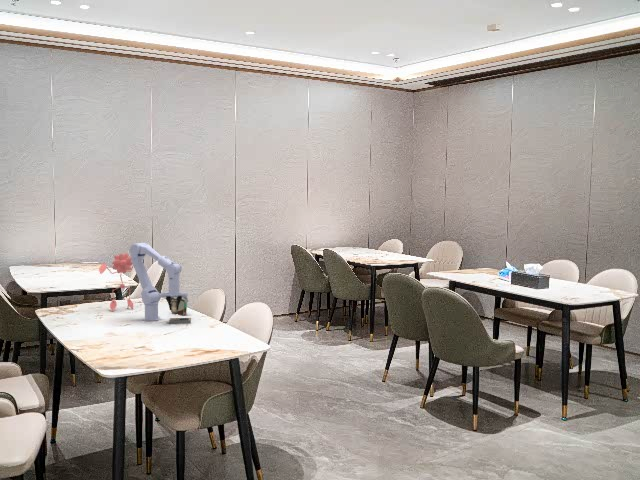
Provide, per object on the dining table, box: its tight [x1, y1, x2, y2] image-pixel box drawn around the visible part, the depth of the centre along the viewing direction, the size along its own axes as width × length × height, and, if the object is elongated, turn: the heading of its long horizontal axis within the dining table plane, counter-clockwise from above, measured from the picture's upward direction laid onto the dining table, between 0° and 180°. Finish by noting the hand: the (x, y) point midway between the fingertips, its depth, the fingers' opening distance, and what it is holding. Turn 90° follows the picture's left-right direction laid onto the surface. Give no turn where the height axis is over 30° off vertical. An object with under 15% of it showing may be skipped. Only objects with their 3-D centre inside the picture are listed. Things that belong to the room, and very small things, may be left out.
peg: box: [170, 301, 177, 313], centre depth 345 cm, size 3×3×6 cm
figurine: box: [98, 252, 141, 314], centre depth 372 cm, size 15×26×35 cm, turn 122°
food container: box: [171, 296, 189, 317], centre depth 368 cm, size 12×6×10 cm, turn 58°
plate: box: [168, 317, 192, 325], centre depth 346 cm, size 8×12×2 cm
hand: (174, 309), depth 345 cm, fingers closed on peg, 3 cm apart
